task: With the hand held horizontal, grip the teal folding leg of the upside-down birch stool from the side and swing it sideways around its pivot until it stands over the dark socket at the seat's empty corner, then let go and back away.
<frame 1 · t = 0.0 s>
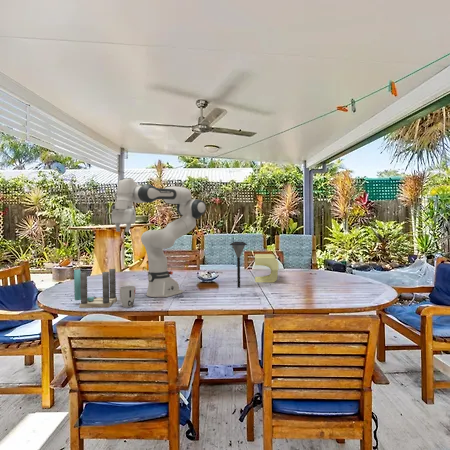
hand: (122, 231, 192), 39 cm above the table, tool pointing down, fingers open, 8 cm apart
solar garden light: (238, 287, 228), on the table
cup: (127, 306, 182), on the table
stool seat: (99, 304, 188), on the table
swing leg: (83, 285, 186), point 11 cm above the table, hinge at 0.0°
yellow curved hook shape: (266, 280, 253), on the table
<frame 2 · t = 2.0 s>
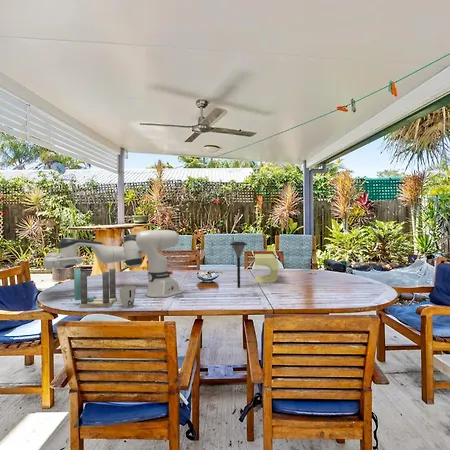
hand: (68, 262, 195), 22 cm above the table, tool horizontal, fingers open, 8 cm apart
nothing on the table moved.
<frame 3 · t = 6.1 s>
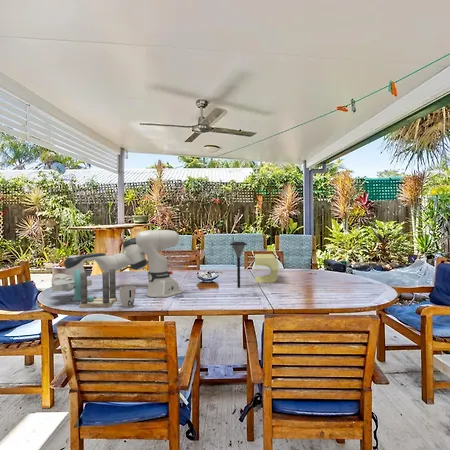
hand: (78, 286, 187), 10 cm above the table, tool horizontal, fingers closed on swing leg, 3 cm apart
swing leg: (83, 285, 186), point 11 cm above the table, hinge at 0.1°, touching gripper
everything else where it was.
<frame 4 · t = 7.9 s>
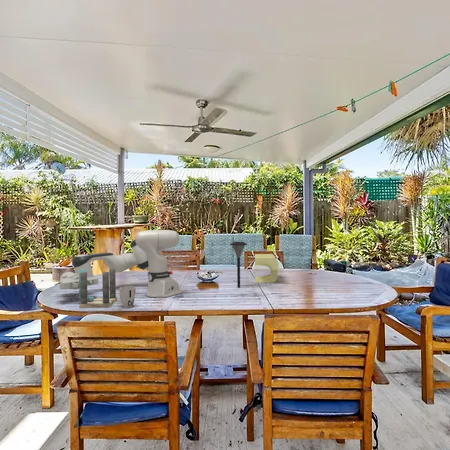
hand: (84, 284, 191), 10 cm above the table, tool horizontal, fingers open, 5 cm apart
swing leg: (86, 284, 188), point 11 cm above the table, hinge at 22.9°, touching gripper
everything else where it was.
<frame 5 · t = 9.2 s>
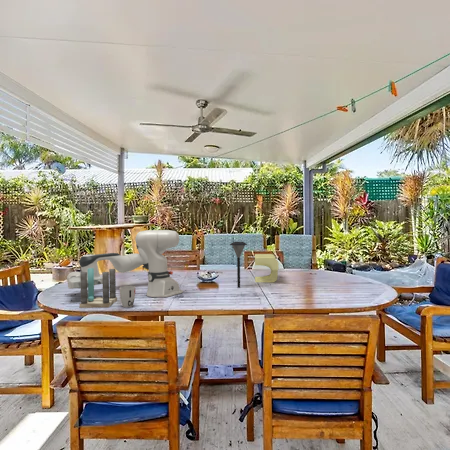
hand: (93, 283, 193), 10 cm above the table, tool horizontal, fingers open, 6 cm apart
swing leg: (90, 284, 189), point 11 cm above the table, hinge at 56.1°
everything else where it was.
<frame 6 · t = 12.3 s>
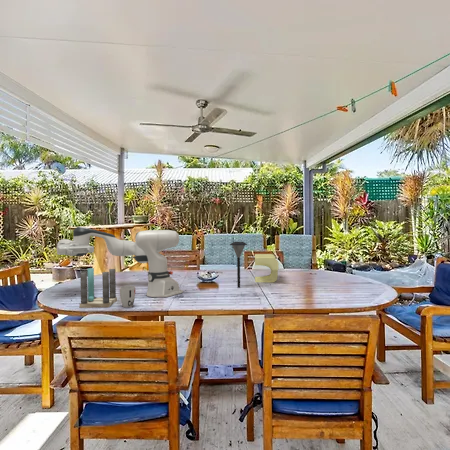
hand: (80, 251, 201), 27 cm above the table, tool horizontal, fingers open, 8 cm apart
nothing on the table moved.
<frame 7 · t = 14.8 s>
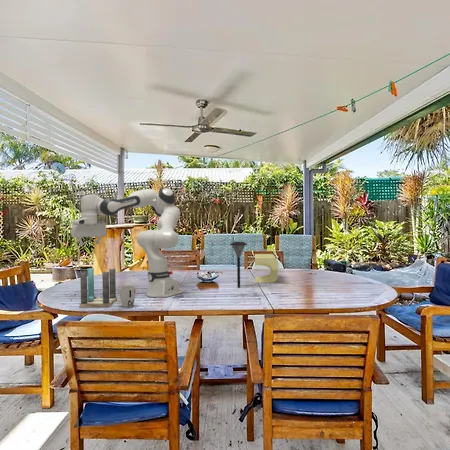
hand: (89, 244, 205), 31 cm above the table, tool pointing down, fingers open, 8 cm apart
nothing on the table moved.
at the end: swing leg at +56° (first picture: +0°) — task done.
